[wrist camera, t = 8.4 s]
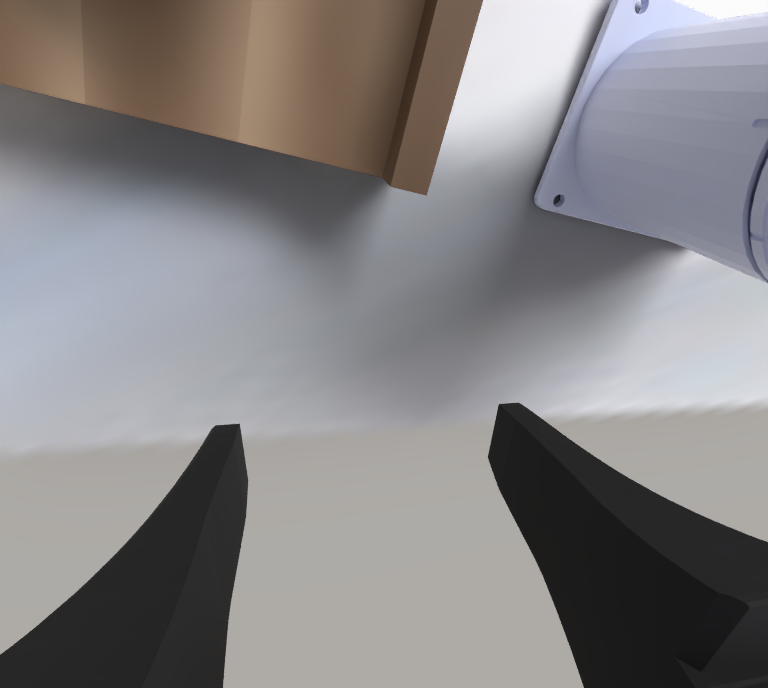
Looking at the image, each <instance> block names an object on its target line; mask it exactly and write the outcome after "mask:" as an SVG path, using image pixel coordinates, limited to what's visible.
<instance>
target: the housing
mask: <svg viewBox="0 0 768 688" xmlns="http://www.w3.org/2000/svg"><path fill="white" fill-rule="evenodd" d="M482 2H483V0H0V84H4V85H8V86H12V87H16V88H20V89H24V90H28V91H32V92H36V93H41V94H45V95H49V96H53V97H57V98H61V99H65V100H69V101H73V102H77V103H81V104H85V105H89V106H93V107H97V108H101V109H105V110H109V111H114V112H118V113H122V114H126V115H130V116H134V117H138V118H142V119H146V120H150V121H154V122H158V123H162V124H166V125H170V126H174V127H178V128H183V129H187V130H191V131H195V132H199V133H203V134H207V135H211V136H215V137H219V138H223V139H227V140H231V141H235V142H239V143H243V144H247V145H251V146H256V147H260V148H264V149H268V150H272V151H276V152H280V153H284V154H288V155H292V156H296V157H300V158H304V159H308V160H312V161H316V162H320V163H325V164H329V165H333V166H337V167H341V168H345V169H349V170H353V171H357V172H361V173H365V174H369V175H373V176H377V177H381V178H383V179H384V180H385V181H386V182H387V183H388V184H389V185H390V186H391V187H394V188H398V189H403V190H407V191H411V192H415V193H419V194H423V195H427V192H428V188H429V185H430V182H431V178H432V175H433V171H434V168H435V164H436V161H437V157H438V154H439V151H440V147H441V144H442V140H443V137H444V133H445V130H446V126H447V123H448V120H449V116H450V113H451V109H452V106H453V102H454V99H455V95H456V92H457V88H458V85H459V82H460V78H461V75H462V71H463V68H464V64H465V61H466V57H467V54H468V51H469V47H470V44H471V40H472V37H473V33H474V30H475V26H476V23H477V20H478V16H479V13H480V9H481V6H482Z"/></svg>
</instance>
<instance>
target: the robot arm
mask: <svg viewBox="0 0 768 688" xmlns="http://www.w3.org/2000/svg"><path fill="white" fill-rule="evenodd" d="M636 2H637V0H612V1H611V4H610V6H609V9H608V11H607V14H606V16H605V19H604V21H603V24H602V27H601V29H600V32H599V34H598V37H597V39H596V42H595V44H594V47H593V49H592V52H591V54H590V57H589V59H588V62H587V64H586V67H585V69H584V72H583V74H582V77H581V79H580V82H579V85H578V87H577V90H576V92H575V95H574V97H573V100H572V102H571V105H570V107H569V110H568V112H567V115H566V117H565V120H564V122H563V125H562V127H561V130H560V132H559V135H558V138H557V140H556V143H555V145H554V148H553V150H552V153H551V155H550V158H549V160H548V163H547V165H546V168H545V170H544V173H543V175H542V178H541V180H540V183H539V185H538V188H537V191H536V193H535V197H534V200H535V204H536V205H537V206H538V207H540V208H542V209H544V210H548V211H552V212H556V213H560V214H564V215H568V216H571V217H575V218H579V219H583V220H587V221H591V222H595V223H599V224H603V225H607V226H611V227H615V228H619V229H623V230H627V231H631V232H635V233H639V234H643V235H647V236H651V237H655V238H659V239H663V240H667V241H670V242H673V243H675V244H677V245H680V246H682V247H684V248H687V249H689V250H691V251H694V252H696V253H698V254H701V255H703V256H705V257H708V258H710V259H712V260H715V261H717V262H719V263H722V264H724V265H726V266H729V267H731V268H734V269H736V270H738V271H741V272H743V273H745V274H748V275H750V276H752V277H755V278H757V279H759V280H762V281H764V282H766V283H768V12H766V13H759V14H752V15H745V16H738V17H731V18H724V19H717V18H714V17H712V16H710V15H707V14H705V13H703V12H701V11H698V10H696V9H694V8H691V7H689V6H687V5H685V4H682V3H680V2H678V1H675V0H641V4H642V5H641V9H640V11H639V12H638V14H637V13H636V12H635V4H636ZM559 194H560V201H559V202H558V203H557V204H555V205H554V204H553V201H554V198H555V197H556V196H557V195H559ZM488 459H489V462H490V465H491V468H492V471H493V473H494V476H495V479H496V482H497V485H498V487H499V490H500V492H501V494H502V496H503V498H504V500H505V502H506V504H507V506H508V508H509V510H510V512H511V514H512V516H513V517H514V519H515V521H516V523H517V525H518V527H519V529H520V531H521V533H522V535H523V537H524V539H525V540H526V542H527V544H528V546H529V548H530V550H531V552H532V554H533V556H534V558H535V560H536V562H537V564H538V566H539V568H540V571H541V573H542V575H543V577H544V580H545V582H546V585H547V587H548V590H549V592H550V595H551V597H552V600H553V602H554V605H555V607H556V610H557V613H558V615H559V618H560V621H561V624H562V626H563V629H564V632H565V634H566V637H567V640H568V642H569V645H570V648H571V651H572V654H573V657H574V659H575V662H576V665H577V668H578V671H579V674H580V677H581V680H582V683H583V686H584V688H768V542H766V541H763V540H760V539H757V538H755V537H752V536H749V535H747V534H744V533H742V532H739V531H737V530H735V529H732V528H729V527H727V526H725V525H722V524H720V523H718V522H715V521H713V520H711V519H708V518H706V517H704V516H701V515H699V514H697V513H695V512H693V511H691V510H689V509H687V508H684V507H682V506H680V505H678V504H676V503H674V502H672V501H670V500H668V499H666V498H664V497H662V496H660V495H658V494H656V493H655V492H653V491H651V490H649V489H647V488H646V487H644V486H642V485H640V484H638V483H637V482H635V481H633V480H631V479H629V478H628V477H626V476H624V475H623V474H621V473H619V472H618V471H616V470H615V469H613V468H611V467H610V466H608V465H607V464H605V463H604V462H602V461H601V460H599V459H597V458H596V457H594V456H593V455H591V454H590V453H589V452H587V451H586V450H584V449H583V448H581V447H580V446H578V445H577V444H575V443H574V442H573V441H571V440H570V439H568V438H567V437H566V436H564V435H563V434H562V433H560V432H559V431H557V430H556V429H555V428H553V427H552V426H551V425H549V424H548V423H547V422H545V421H544V420H543V419H541V418H540V417H539V416H537V415H536V414H534V413H533V412H532V411H530V410H529V409H527V408H526V407H525V406H523V405H522V404H520V403H508V404H499V406H498V411H497V416H496V421H495V425H494V430H493V435H492V440H491V445H490V450H489V454H488ZM247 491H248V477H247V470H246V464H245V457H244V449H243V443H242V436H241V429H240V424H230V425H217V426H214V427H213V428H212V429H211V431H210V433H209V434H208V436H207V438H206V439H205V441H204V443H203V444H202V446H201V447H200V449H199V450H198V452H197V454H196V455H195V457H194V458H193V460H192V461H191V462H190V464H189V466H188V467H187V468H186V470H185V471H184V472H183V474H182V475H181V477H180V478H179V479H178V481H177V482H176V484H175V485H174V486H173V488H172V489H171V490H170V492H169V493H168V494H167V495H166V497H165V498H164V499H163V500H162V502H161V503H160V504H159V505H158V507H157V508H156V509H155V511H154V512H153V513H152V514H151V515H150V517H149V518H148V519H147V520H146V521H145V523H144V524H143V525H142V526H141V527H140V528H139V529H138V531H137V532H136V533H135V534H134V535H133V536H132V537H131V538H130V539H129V541H128V542H127V543H126V544H125V545H124V546H123V547H122V548H121V549H120V550H119V551H118V552H117V553H116V554H115V555H114V556H113V557H112V558H111V559H110V560H109V561H108V562H107V563H106V564H105V565H104V566H103V567H102V568H101V569H100V570H99V571H98V572H97V573H96V574H95V575H94V576H93V577H92V578H91V579H90V580H89V581H88V582H87V583H86V584H85V585H83V586H82V587H81V588H80V589H79V590H78V591H77V592H76V593H75V594H74V595H73V596H71V597H70V598H69V599H68V600H67V601H66V602H64V603H63V604H62V605H61V606H60V607H59V608H57V609H56V610H55V611H54V612H53V613H52V614H50V615H49V616H48V617H47V618H46V619H45V620H43V621H42V622H41V623H40V624H39V625H38V626H36V627H35V628H34V629H33V630H32V631H30V632H29V633H28V634H27V635H25V636H24V637H23V638H22V639H20V640H19V641H18V642H17V643H15V644H14V645H13V646H11V647H10V648H9V649H8V650H6V651H5V652H3V653H2V654H1V655H0V688H223V679H224V665H225V653H226V641H227V630H228V619H229V612H230V604H231V598H232V592H233V587H234V581H235V576H236V570H237V565H238V559H239V553H240V548H241V542H242V537H243V531H244V525H245V518H246V508H247Z"/></svg>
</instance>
